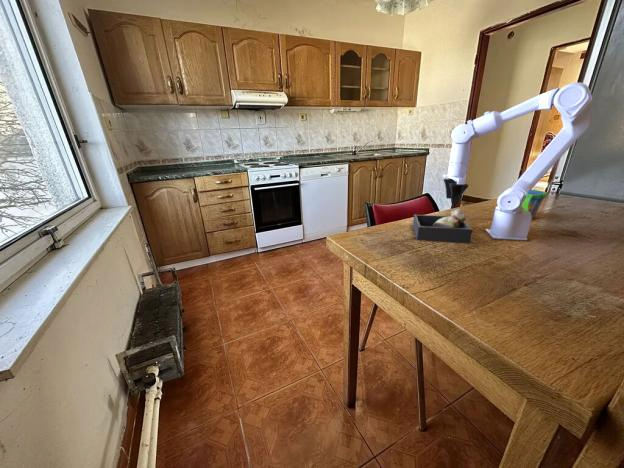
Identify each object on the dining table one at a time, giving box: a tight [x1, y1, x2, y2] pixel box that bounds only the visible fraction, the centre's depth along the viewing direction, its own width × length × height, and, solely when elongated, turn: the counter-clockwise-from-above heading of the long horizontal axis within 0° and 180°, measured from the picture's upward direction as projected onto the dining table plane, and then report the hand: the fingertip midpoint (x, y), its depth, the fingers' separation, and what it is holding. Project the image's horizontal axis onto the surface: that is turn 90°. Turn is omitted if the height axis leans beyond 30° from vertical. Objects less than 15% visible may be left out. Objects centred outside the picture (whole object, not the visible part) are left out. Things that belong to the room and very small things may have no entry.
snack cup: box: [522, 189, 547, 219], centre depth 101 cm, size 16×10×10 cm
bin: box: [412, 214, 473, 244], centre depth 88 cm, size 16×14×5 cm
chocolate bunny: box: [433, 208, 466, 228], centre depth 88 cm, size 6×8×10 cm
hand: (452, 200), depth 93 cm, fingers open, 7 cm apart
